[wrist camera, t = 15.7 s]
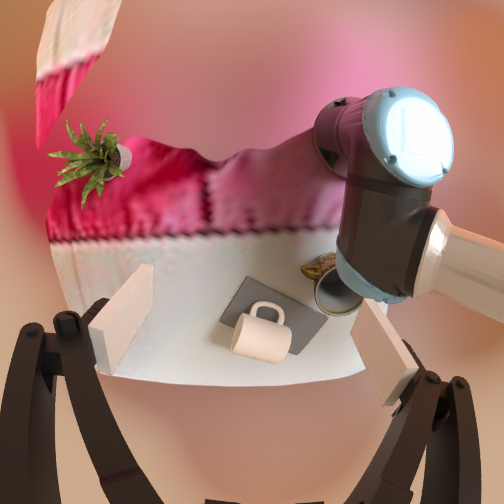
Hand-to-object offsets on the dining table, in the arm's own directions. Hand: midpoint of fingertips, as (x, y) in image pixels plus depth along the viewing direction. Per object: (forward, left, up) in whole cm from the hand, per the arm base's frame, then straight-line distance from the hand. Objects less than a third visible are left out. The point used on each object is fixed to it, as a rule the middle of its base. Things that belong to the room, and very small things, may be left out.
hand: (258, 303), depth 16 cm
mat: (-8, +24, -35) cm, 43 cm away
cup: (-11, +26, -31) cm, 42 cm away
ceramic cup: (-15, +10, -35) cm, 39 cm away
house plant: (+27, -6, -35) cm, 45 cm away
